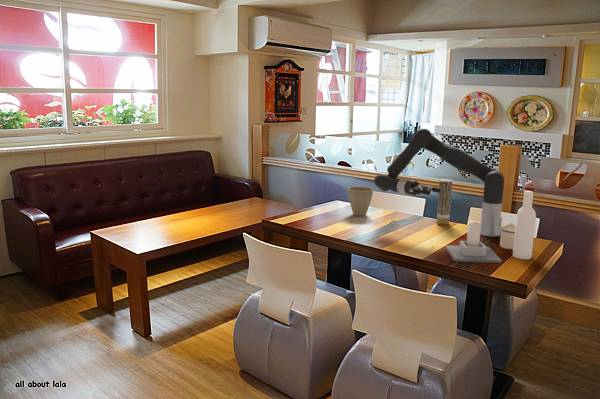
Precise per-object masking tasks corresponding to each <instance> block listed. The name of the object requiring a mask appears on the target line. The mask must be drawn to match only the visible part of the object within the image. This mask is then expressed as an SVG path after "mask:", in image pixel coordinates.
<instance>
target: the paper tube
mask: <svg viewBox="0 0 600 399" xmlns="http://www.w3.org/2000/svg"><path fill="white" fill-rule="evenodd" d="M438 188H440V189H441V191H440V193H438V197H437V213H436V223H437V224H438V225H443V226H446V225H449V224H450V217H451V215H450V214H451V206H452V205H451V203H452V189H453V179H449V178H448V179H447V178H441V179H439V183H438Z"/></svg>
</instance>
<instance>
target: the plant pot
mask: <svg viewBox="0 0 600 399" xmlns="http://www.w3.org/2000/svg"><path fill="white" fill-rule="evenodd" d="M347 191H348V198H349V203H350V207H351V212H352V215H353V216H355V217H365V216H366V215H367V212H368V210H369V208H370V205H371V202H372V197H373V193H374V189H373V188H372V187H367V186H350V187H348V189H347Z"/></svg>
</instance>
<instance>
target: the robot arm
mask: <svg viewBox="0 0 600 399" xmlns="http://www.w3.org/2000/svg"><path fill="white" fill-rule="evenodd" d="M422 149H424V150H426V151H429V152H430V153H432V154H434V155H436V156H437V157H438V158H440V159H441V160H443V161H444V162H445V163H447V164H449V165H450V166H452V167H453V168H455V169H457V170H459V171H462V172H464V173H466V174H469V175H471V176H472V175H473V176H474V177H476V178H477V179H479V180H480V181H482V182H483V184H484V186H483V195H482V197H483V199H482V207H481V209H482V210H481V219H480V220H481V221H480V223H481V230H480V236H481V235H482V236H485V237H501V228H502V221H503V218H502V207H503V198H504V189H505V176H504V174H503V173H502V172H500V171H499V170H497V169H494V168H492V167H489V166H487V165H485V163H484V164H483V163H482V162H480V161H479V160H478V159H476V158H475V157H473V156H471V154H468V153H467V152H465V151H463V150H462V149H461V148H458V147H456V146H453V145H451V144H448V143H446V142H443V141H442V140H440V139H438V138H437V137H435V136H434V135H432V133H431V131H430V130H429V129H428V128H420V129H418V130H417V131H415V133H414V135H413V136H412V138H411V140H410V141H409V143H408V145H407V146H406V147H405V148H404V150H402V151H401V152H400V154H399V155H398V156H397V157H396V158H395V159H394V160H393V161H392V162H391V163H390V165H389V166H388V167H387V169H386V171H387V173H388V174H378V175H376V176H375V177H374V180H373V182H374V185H375V186H376V187H377V188H379V189H380V190H381V191H382V192H388V191H392V192H394V193H395V192H396V193H400V194H403V195H409V196H417V195H418V196H419V195H427V196H430V195H431V193H437V194H439V193H440V191H441V189H440V188H439V187H436V186H435V185H428V184H420V183H419V182H418V181H417V180H413V179H412V180H411V179H406V178H405V179H402V178H398V177H399V176H400V174H401V173H402V172H403V171H404V170H405V169H406V168H407V167H408V165H409V164H410V162H411V161H412V160H413V158H415V156H416V155H417V154H418V153H419V152H420V151H421V150H422Z"/></svg>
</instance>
